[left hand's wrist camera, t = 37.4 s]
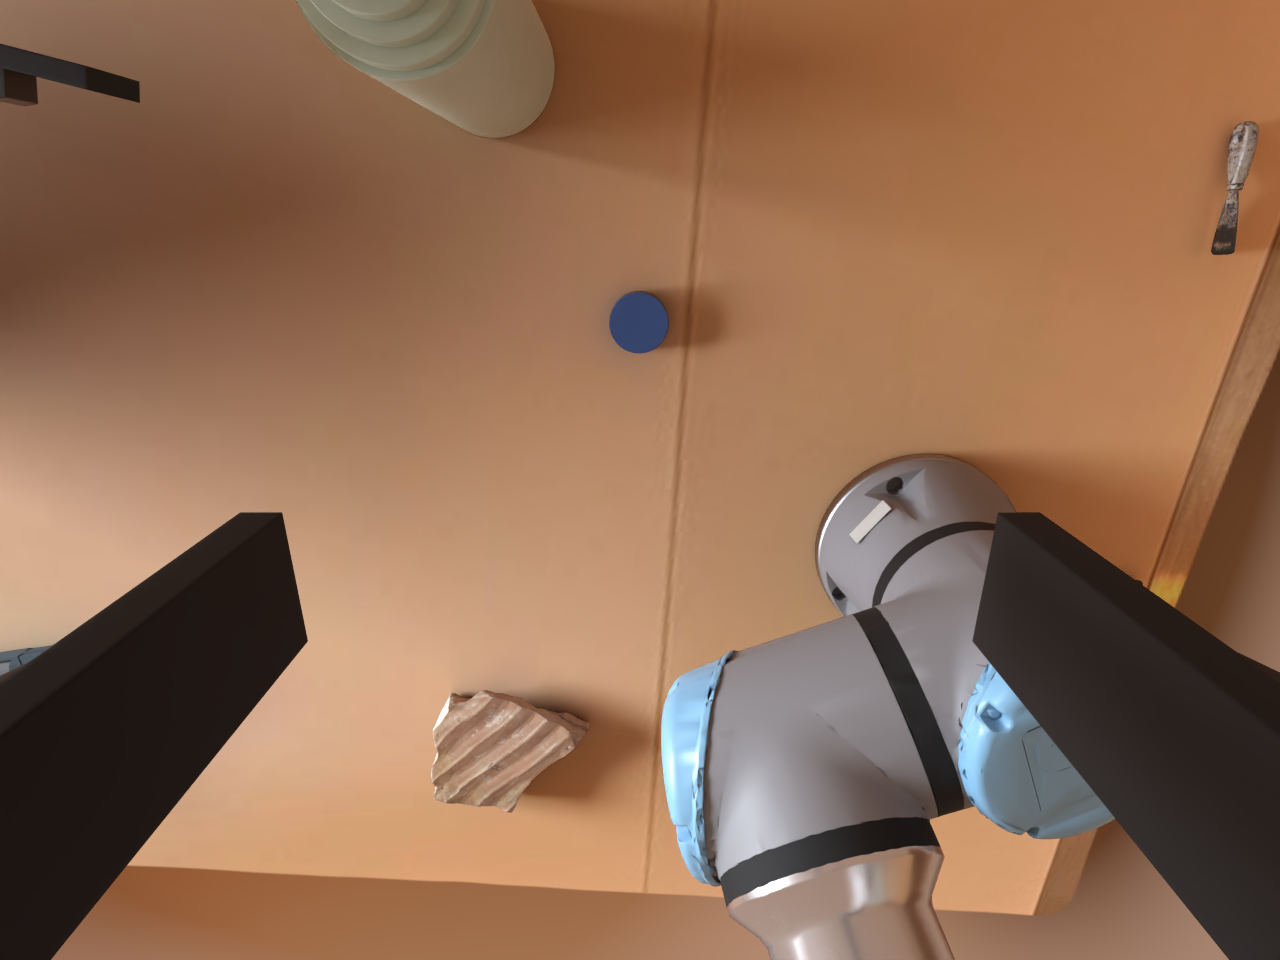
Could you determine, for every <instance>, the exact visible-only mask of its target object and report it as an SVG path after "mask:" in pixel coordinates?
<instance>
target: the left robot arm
mask: <svg viewBox="0 0 1280 960" xmlns="http://www.w3.org/2000/svg"><path fill="white" fill-rule="evenodd" d="M815 562H816V568H817V572H818V576H819V578H820V581H821V583H822V585H823V587H824V589H825V591H826V593H827V595H828V597H829V598H830V600H831V601H832V603H833V604H834V605H835V607H836V608H837V609H838V610H839V611H840V613H841V614H842V615H843V616H844V617H841V618H839V619H836V620H833V621H830V622H827V623H824V624H821V625H818V626H815V627H812V628H808V629H805V630H802V631H799V632H796V633H793V634H790V635H787V636H784V637H781V638H778V639H775V640H772V641H769V642H766V643H763V644H760V645H757V646H754V647H751V648H748V649H745V650H741V651H730V652H728V653H726V654H725V655H724V656H722V658H721V659H719V660H716V661H714V662H711V663H709V664H706V665H704V666H701V667H699V668H696V669H694V670H691V671H689V672H687V673H685V674H683V675H681V676H680V677H679V678H678V679H677V680H676V681H675V682H674V684H673V685H672V687H671V689H670V690H669V692H668V696H667V699H666V702H665V704H664V709H663V715H662V726H661V750H662V765H663V774H664V782H665V789H666V796H667V801H668V807H669V812H670V816H671V819H672V822H673V824H675V825H676V826H677V828H676V830H677V838H678V845H679V848H680V851H681V854H682V857H683V859H684V861H685V863H686V866H687V867H688V869H689V871H690V872H691V874H692V875H693V877H695V878H696V879H697V880H698V881H700V882H701V883H704V884H710V885H712V886H720V885H721V886H722V890H723V894H724V898H725V902H726V906H727V910H728V914H729V916H730V917H731V918H732V919H733V920H735V921H736V922H738V923H739V924H740V925H742V926H743V927H744V928H746V929H747V930H748V931H750V932H751V933H752V934H754V935H755V936H756V937H758V938H759V939H760V940H761V941H762V943H763V944H764V945H765V946H766V948H767V949H768V952H769V956H770V960H955V959H954V957H953V954H952V952H951V949H950V947H949V944H948V942H947V940H946V937H945V935H944V932H943V930H942V927H941V925H940V923H939V920H938V918H937V915H936V913H935V910H934V908H933V904H932V893H933V890H934V887H935V884H936V881H937V878H938V875H939V872H940V869H941V866H942V863H943V860H944V854H943V851H942V849H941V847H940V845H939V842H938V840H937V838H936V836H935V833H934V831H933V829H932V826H931V824H930V819H932V818H936V817H939V816H942V815H945V814H949V813H952V812H956V811H959V810H963V809H966V808H970V807H973V806H975V807H977V809H978V810H979V812H980V813H981V814H983V815H984V816H986V818H988V819H990V820H991V821H992V822H993V823H995V824H996V825H998V826H999V827H1001V828H1003V829H1004V830H1006V831H1008V832H1011V833H1014V834H1018V835H1022V834H1023V833H1025V832H1027V833H1028V834H1029V835H1030V836H1031V837H1033V838H1036V839H1058V838H1064V837H1070V836H1075V835H1078V834H1081V833H1084V832H1087V831H1090V830H1093V829H1095V828H1098V827H1100V826H1102V825H1104V824H1106V823H1108V822H1110V821H1112V820H1113V819H1116V820H1117V821H1118V822H1119V824H1120V825H1121V826H1122V827H1123V829H1124V830H1125V831H1126V832H1127V834H1128V835H1129V836H1130V837H1131V839H1132V840H1133V841H1134V842H1135V843H1136V845H1137V846H1138V847H1139V848H1140V850H1141V851H1142V852H1143V853H1144V855H1145V856H1146V857H1147V858H1148V860H1149V861H1150V862H1151V863H1152V865H1153V866H1154V867H1155V868H1156V870H1157V871H1158V872H1159V873H1160V874H1161V876H1162V877H1163V878H1164V879H1165V881H1166V882H1167V883H1168V884H1169V886H1170V887H1171V888H1172V889H1173V891H1174V892H1175V893H1176V894H1177V895H1178V897H1179V898H1180V899H1181V901H1182V902H1183V903H1184V904H1185V905H1186V907H1187V908H1188V909H1189V910H1190V912H1191V913H1192V914H1193V915H1194V917H1195V918H1196V919H1197V920H1198V922H1199V923H1200V924H1201V925H1202V926H1203V928H1204V929H1205V930H1206V931H1207V933H1208V934H1209V935H1210V936H1211V938H1212V939H1213V940H1214V941H1215V943H1216V944H1217V945H1218V946H1219V948H1220V949H1221V950H1222V951H1223V953H1224V954H1225V955H1226V956H1227V958H1228V959H1229V960H1280V672H1277V671H1275V670H1273V669H1271V668H1269V667H1267V666H1265V665H1263V664H1261V663H1259V662H1257V661H1254V660H1252V659H1250V658H1248V657H1246V656H1244V655H1242V654H1240V653H1237V652H1236V651H1234V650H1233V649H1231V648H1230V647H1229V646H1227V645H1226V644H1224V643H1223V642H1222V641H1220V640H1219V639H1217V638H1216V637H1215V636H1213V635H1212V634H1210V633H1209V632H1207V631H1206V630H1205V629H1203V628H1202V627H1200V626H1199V625H1198V624H1196V623H1195V622H1193V621H1192V620H1191V619H1189V618H1188V617H1186V616H1185V615H1183V614H1182V613H1181V612H1179V611H1178V610H1176V609H1175V608H1174V607H1172V606H1171V605H1169V604H1168V603H1167V602H1165V601H1164V600H1162V599H1161V598H1159V597H1158V596H1157V595H1155V594H1154V593H1152V592H1151V591H1150V590H1148V589H1147V588H1145V587H1144V586H1143V584H1142V582H1141V581H1139V580H1134V579H1133V578H1131V577H1130V576H1128V575H1127V574H1126V573H1124V572H1123V571H1121V570H1120V569H1119V568H1117V567H1116V566H1114V565H1113V564H1112V563H1110V562H1109V561H1107V560H1106V559H1104V558H1103V557H1102V556H1100V555H1099V554H1097V553H1096V552H1095V551H1093V550H1092V549H1090V548H1089V547H1088V546H1086V545H1085V544H1083V543H1082V542H1080V541H1079V540H1078V539H1076V538H1075V537H1073V536H1072V535H1071V534H1069V533H1068V532H1066V531H1065V530H1064V529H1062V528H1061V527H1059V526H1058V525H1057V524H1055V523H1054V522H1052V521H1051V520H1049V519H1048V518H1047V517H1045V516H1044V515H1042V514H1041V513H1016V511H1015V508H1014V506H1013V505H1012V503H1011V501H1010V500H1009V498H1008V497H1007V496H1006V494H1005V493H1004V492H1003V491H1002V489H1001V488H1000V487H999V486H998V485H997V484H996V483H995V482H994V481H993V480H992V479H991V478H989V477H988V476H987V475H985V474H984V473H982V472H981V471H980V470H978V469H977V468H975V467H974V466H972V465H970V464H968V463H966V462H964V461H961V460H959V459H956V458H953V457H949V456H944V455H938V454H913V455H906V456H901V457H897V458H894V459H890V460H887V461H885V462H882V463H880V464H878V465H876V466H874V467H871V468H870V469H868V470H866V471H865V472H863V473H861V474H860V475H859V476H857V477H856V478H854V479H853V480H852V481H851V482H850V483H849V484H847V485H846V486H845V487H844V488H843V489H842V490H841V491H840V492H839V494H838V495H837V496H836V497H835V499H834V500H833V501H832V503H831V504H830V506H829V507H828V509H827V511H826V513H825V514H824V516H823V519H822V521H821V523H820V526H819V529H818V533H817V538H816V544H815ZM307 641H308V640H307V635H306V630H305V625H304V620H303V615H302V610H301V605H300V600H299V595H298V590H297V585H296V580H295V575H294V570H293V565H292V560H291V555H290V550H289V545H288V540H287V535H286V530H285V525H284V520H283V515H282V513H239V514H238V515H236V516H235V517H233V518H232V519H231V520H229V521H228V522H226V523H225V524H223V525H222V526H221V527H219V528H218V529H216V530H215V531H214V532H212V533H211V534H209V535H208V536H207V537H205V538H204V539H202V540H201V541H200V542H198V543H197V544H195V545H194V546H192V547H191V548H190V549H188V550H187V551H185V552H184V553H183V554H181V555H180V556H178V557H177V558H176V559H174V560H173V561H171V562H170V563H168V564H167V565H166V566H164V567H163V568H161V569H160V570H159V571H157V572H156V573H154V574H153V575H152V576H150V577H149V578H147V579H146V580H144V581H143V582H142V583H140V584H139V585H137V586H136V587H135V588H133V589H132V590H130V591H129V592H128V593H126V594H125V595H123V596H122V597H121V598H119V599H118V600H116V601H115V602H113V603H112V604H111V605H109V606H108V607H106V608H105V609H104V610H102V611H101V612H99V613H98V614H97V615H95V616H94V617H92V618H91V619H89V620H88V621H87V622H85V623H84V624H82V625H81V626H80V627H78V628H77V629H75V630H74V631H73V632H71V633H70V634H68V635H67V636H65V637H64V638H63V639H61V640H60V641H58V642H57V643H56V644H54V645H53V646H51V647H50V648H49V649H47V650H46V651H44V652H43V653H42V654H40V655H39V656H37V657H36V658H34V659H33V660H32V661H30V662H28V663H26V664H23V665H21V666H19V667H17V668H15V669H13V670H11V671H9V672H7V673H5V674H3V675H1V676H0V960H51V959H52V958H53V956H54V955H55V954H56V952H57V951H58V950H59V949H60V948H61V946H62V945H63V944H64V943H65V941H66V940H67V939H68V938H69V936H70V935H71V934H72V933H73V931H74V930H75V929H76V928H77V927H78V925H79V924H80V923H81V922H82V920H83V919H84V918H85V917H86V915H87V914H88V913H89V912H90V910H91V909H92V908H93V907H94V905H95V904H96V903H97V902H98V901H99V899H100V898H101V897H102V896H103V894H104V893H105V892H106V891H107V889H108V888H109V887H110V886H111V884H112V883H113V882H114V881H115V879H116V878H117V877H118V876H119V874H120V873H121V872H122V871H123V870H124V868H125V867H126V866H127V865H128V863H129V862H130V861H131V860H132V858H133V857H134V856H135V855H136V853H137V852H138V851H139V850H140V848H141V847H142V846H143V845H144V843H145V842H146V841H147V840H148V839H149V837H150V836H151V835H152V834H153V832H154V831H155V830H156V829H157V827H158V826H159V825H160V824H161V822H162V821H163V820H164V819H165V817H166V816H167V815H168V814H169V813H170V811H171V810H172V809H173V808H174V806H175V805H176V804H177V803H178V801H179V800H180V799H181V798H182V796H183V795H184V794H185V793H186V791H187V790H188V789H189V788H190V786H191V785H192V784H193V783H194V782H195V780H196V779H197V778H198V777H199V775H200V774H201V773H202V772H203V770H204V769H205V768H206V767H207V765H208V764H209V763H210V762H211V760H212V759H213V758H214V757H215V755H216V754H217V753H218V752H219V751H220V749H221V748H222V747H223V746H224V744H225V743H226V742H227V741H228V739H229V738H230V737H231V736H232V734H233V733H234V732H235V731H236V729H237V728H238V727H239V726H240V724H241V723H242V722H243V721H244V720H245V718H246V717H247V716H248V715H249V713H250V712H251V711H252V710H253V708H254V707H255V706H256V705H257V703H258V702H259V701H260V700H261V698H262V697H263V696H264V695H265V693H266V692H267V691H268V690H269V689H270V687H271V686H272V685H273V684H274V682H275V681H276V680H277V679H278V677H279V676H280V675H281V674H282V672H283V671H284V670H285V669H286V667H287V666H288V665H289V664H290V663H291V661H292V660H293V659H294V658H295V656H296V655H297V654H298V653H299V651H300V650H301V649H302V648H303V646H304V645H305V644H306V643H307Z"/></svg>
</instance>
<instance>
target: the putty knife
mask: <svg viewBox="0 0 1280 960" xmlns="http://www.w3.org/2000/svg"><path fill="white" fill-rule="evenodd" d="M1258 135H1259V128H1258V125H1257V124H1256V123H1255V122H1250V121H1248V122H1243V123H1240V124H1239V125H1237V126H1236V127H1235V129H1234V130H1233V132H1232V135H1231V138H1230V142H1229V148H1228V161H1227V187H1228V188H1227V191H1228V190H1229V193H1228V196H1227V199H1226V202H1225V204H1224V207H1223V210H1222V213H1221V216H1220V219H1219V223H1218V226H1217V230H1216V233H1215V237H1214V240H1213V245H1212V250H1211V252H1212V254H1213V255H1223V254H1226V255H1227V254H1232V253H1233V252H1234V250H1235V241H1236V231H1237V219H1238V192H1239V190H1242V188H1243V185H1244V184H1243V183H1244V182H1245V180H1246V178H1247V176H1248V172H1249V170H1250V167H1251V163H1252V160H1253V157H1254V153H1255V149H1256V145H1257V141H1258Z"/></svg>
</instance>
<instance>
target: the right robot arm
mask: <svg viewBox="0 0 1280 960" xmlns="http://www.w3.org/2000/svg"><path fill="white" fill-rule="evenodd" d="M36 77H40V78H44V79H48V80H52V81H56V82H60V83H63V84H67V85H71V86H75V87H79V88H83V89H87V90H91V91H95V92H99V93H103V94H107V95H111V96H115V97H119V98H122V99H126V100H130V101H134V102H138V103H140V91H139V81H135V80H132V79H128V78H125V77H122V76H118V75H115V74H111V73H108V72H105V71H101V70H98V69H94V68H91V67H88V66H84V65H80V64H76V63H72V62H69V61H65V60H61V59H57V58H53V57H49V56H45V55H42V54H38V53H34V52H30V51H26V50H22V49H18V48H15V47H11V46H7V45H3V44H0V101H1V102H6V103H11V104H16V105H21V106H29V105H35V104H38V99H37V83H36Z"/></svg>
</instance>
